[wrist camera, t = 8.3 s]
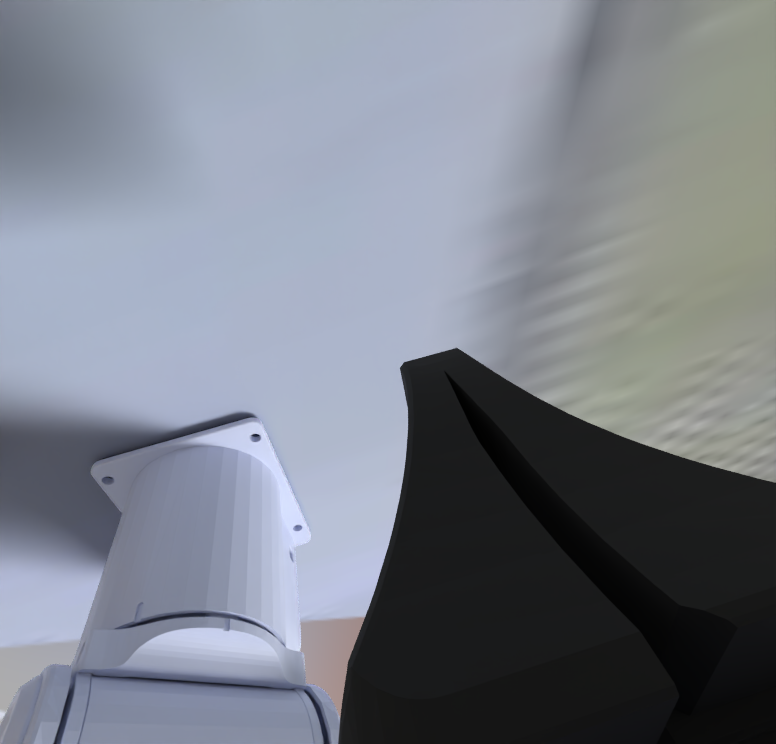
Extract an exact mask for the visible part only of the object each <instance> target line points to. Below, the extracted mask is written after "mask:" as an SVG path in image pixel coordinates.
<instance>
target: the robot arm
mask: <svg viewBox="0 0 776 744" xmlns="http://www.w3.org/2000/svg"><path fill="white" fill-rule="evenodd" d="M400 370H401V375H402V380H403V385H404V390H405V396H406V401H407V406H408V439H407V452H406V462H405V470H404V477H403V483H402V489H401V495H400V500H399V504H398V509H397V513H396V518H395V523H394V527H393V531H392V535H391V539H390V543H389V546H388V549H387V553H386V556H385V559H384V563H383V566H382V569H381V572H380V576H379V579H378V582H377V586H376V589H375V592H374V595H373V598H372V600H371V603H370V606H369V609H368V611H367V614H366V617H365V619H364V622H363V624H362V627H361V630H360V632H359V635H358V638H357V640H356V643H355V645H354V649H353V651H352V653H351V656H350V659H349V661H348V668H347V674H346V681H345V688H344V694H343V701H342V709H341V718H340V717H339V715H338V712H337V710H336V708H335V705H334V703H333V701H332V700H331V698H330V697H329V695H328V694H327V693H326V692H325V691H324V690H323V689H322V688H320V687H318V686H316V685H314V684H306V677H305V662H304V653H302V652H300V647H301V629H300V614H299V598H298V583H297V568H296V553H295V546H299V545H302V544H305V543H307V542H308V541H310V539H311V532H310V529H309V527H308V525H307V522H306V520H305V518H304V516H303V513H302V511H301V509H300V507H299V504H298V502H297V500H296V498H295V495H294V493H293V491H292V489H291V486H290V484H289V482H288V480H287V477H286V475H285V473H284V471H283V468H282V466H281V464H280V462H279V459H278V457H277V455H276V453H275V450H274V448H273V446H272V444H271V441H270V439H269V437H268V435H267V432H266V430H265V428H264V426H263V423H262V422H261V421H260V420H259V419H257V418H253V417H252V418H247V419H243V420H240V421H236V422H232V423H229V424H225V425H222V426H218V427H215V428H211V429H208V430H204V431H201V432H197V433H194V434H190V435H187V436H183V437H180V438H176V439H173V440H169V441H166V442H162V443H159V444H155V445H152V446H148V447H145V448H141V449H138V450H134V451H131V452H127V453H124V454H120V455H117V456H113V457H109V458H106V459H102V460H99V461H97V462H95V463H94V464H93V466H92V468H91V472H90V473H91V475H92V477H93V478H94V479H95V480H96V482H97V483H98V484H99V485H100V487H101V488H102V489H103V490H104V492H105V493H106V494H107V495H108V497H109V498H110V499H111V501H112V502H113V503H114V504H115V506H116V507H117V508H118V509H119V511H120V512H121V513H122V516H121V519H120V522H119V525H118V528H117V531H116V534H115V537H114V540H113V543H112V546H111V549H110V552H109V555H108V558H107V561H106V564H105V567H104V570H103V573H102V576H101V579H100V582H99V585H98V588H97V591H96V594H95V597H94V600H93V603H92V607H91V610H90V613H89V616H88V619H87V622H86V625H85V628H84V631H83V634H82V637H81V640H80V643H79V646H78V649H77V652H76V655H75V658H74V660H73V662H72V664H71V665H70V666H69V665H59V664H52V665H49V666H47V667H46V668H45V669H44V670H43V671H42V673H41V674H40V675H38V676H36V677H34V678H33V679H32V680H30V681H28V682H27V683H25V684H24V685H22V686H21V687H20V688H19V689H18V691H17V692H16V694H15V696H14V698H13V700H12V702H11V703H10V705H9V707H8V709H7V711H6V713H5V716H4V718H3V720H2V722H1V724H0V744H776V483H774V482H769V481H765V480H761V479H757V478H753V477H750V476H746V475H742V474H739V473H735V472H731V471H727V470H724V469H720V468H716V467H712V466H709V465H706V464H702V463H699V462H695V461H692V460H689V459H685V458H682V457H679V456H676V455H673V454H670V453H667V452H664V451H661V450H658V449H655V448H652V447H649V446H646V445H643V444H640V443H638V442H635V441H632V440H630V439H627V438H624V437H622V436H619V435H617V434H614V433H612V432H609V431H607V430H605V429H602V428H600V427H597V426H595V425H593V424H590V423H588V422H586V421H583V420H581V419H579V418H577V417H575V416H572V415H570V414H568V413H566V412H564V411H562V410H560V409H558V408H556V407H554V406H552V405H550V404H548V403H546V402H545V401H543V400H541V399H539V398H537V397H535V396H533V395H532V394H530V393H528V392H526V391H525V390H523V389H521V388H520V387H518V386H516V385H514V384H513V383H511V382H509V381H508V380H506V379H504V378H503V377H501V376H500V375H498V374H497V373H495V372H493V371H492V370H490V369H489V368H487V367H486V366H484V365H483V364H481V363H479V362H478V361H476V360H475V359H473V358H472V357H470V356H469V355H467V354H466V353H464V352H463V351H461V350H459V349H458V348H455V349H452V350H448V351H444V352H441V353H437V354H433V355H429V356H426V357H422V358H418V359H415V360H411V361H407V362H404V363H403V365H402V366H401V367H400ZM252 434H259V435H260V436H258V437H253V436H251V435H252ZM107 476H109V477H112V478H113V479H109V478H106V477H107ZM296 525H299V526H296Z"/></svg>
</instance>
